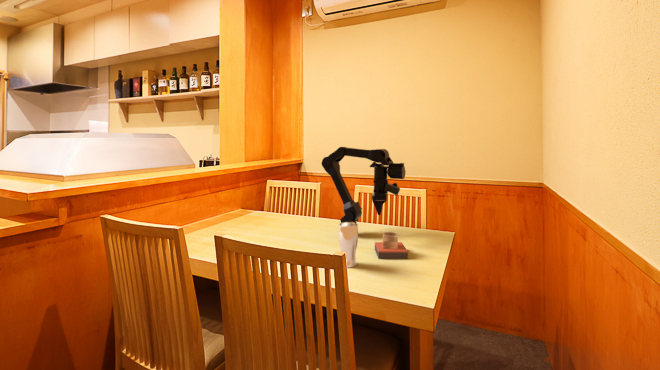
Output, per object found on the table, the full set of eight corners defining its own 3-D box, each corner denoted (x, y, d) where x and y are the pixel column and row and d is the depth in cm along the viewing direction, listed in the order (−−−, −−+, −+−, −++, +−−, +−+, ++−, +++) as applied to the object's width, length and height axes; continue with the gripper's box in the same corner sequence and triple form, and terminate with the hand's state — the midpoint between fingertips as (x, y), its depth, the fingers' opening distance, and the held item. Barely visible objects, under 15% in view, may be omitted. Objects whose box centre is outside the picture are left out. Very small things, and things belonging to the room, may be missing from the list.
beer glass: (345, 259, 124) (345, 220, 122) (361, 263, 120) (361, 223, 118) (334, 265, 119) (334, 224, 117) (351, 269, 115) (351, 227, 113)
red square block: (378, 260, 125) (378, 251, 125) (374, 250, 136) (374, 242, 136) (407, 260, 125) (407, 251, 125) (401, 250, 136) (401, 242, 136)
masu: (382, 248, 128) (383, 235, 127) (382, 243, 133) (382, 231, 133) (397, 249, 127) (397, 236, 126) (396, 244, 132) (397, 232, 132)
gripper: (399, 181, 134) (398, 218, 136) (399, 175, 152) (398, 208, 154) (372, 180, 136) (371, 217, 138) (374, 175, 154) (374, 207, 157)
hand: (379, 212), depth 147 cm, fingers open, 9 cm apart
